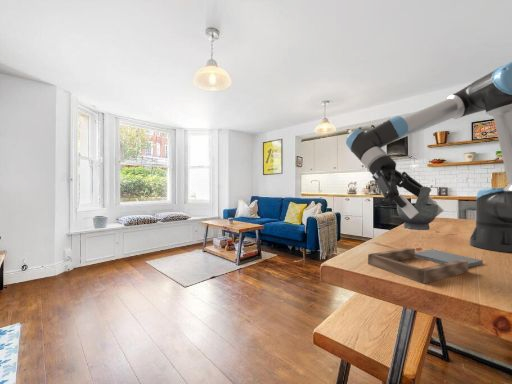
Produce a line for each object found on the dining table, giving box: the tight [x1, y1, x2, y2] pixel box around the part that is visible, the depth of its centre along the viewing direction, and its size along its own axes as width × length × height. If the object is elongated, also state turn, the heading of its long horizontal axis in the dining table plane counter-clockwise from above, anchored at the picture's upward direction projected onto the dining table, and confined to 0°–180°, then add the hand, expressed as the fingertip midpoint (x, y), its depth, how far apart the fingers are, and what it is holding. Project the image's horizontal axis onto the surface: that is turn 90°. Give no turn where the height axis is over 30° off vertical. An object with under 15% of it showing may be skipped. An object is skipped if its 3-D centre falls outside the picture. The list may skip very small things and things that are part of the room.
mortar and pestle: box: [396, 186, 439, 231], centre depth 69 cm, size 11×9×12 cm
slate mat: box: [415, 248, 483, 268], centre depth 78 cm, size 12×14×1 cm
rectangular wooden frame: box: [367, 247, 469, 285], centre depth 70 cm, size 20×16×3 cm
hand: (427, 214), depth 67 cm, fingers closed on mortar and pestle, 11 cm apart
